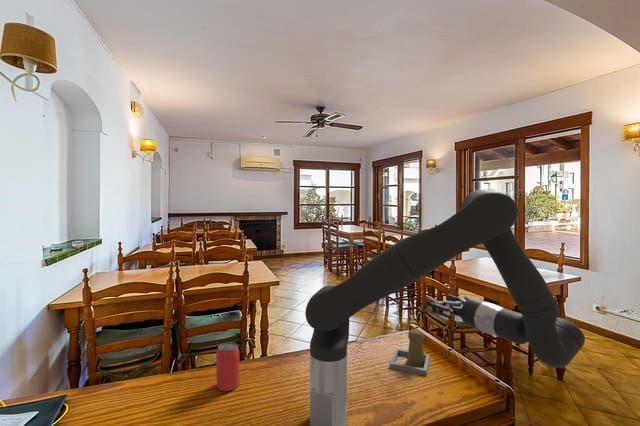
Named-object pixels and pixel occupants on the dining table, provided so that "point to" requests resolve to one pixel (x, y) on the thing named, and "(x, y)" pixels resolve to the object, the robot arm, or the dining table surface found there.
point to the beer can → (227, 366)
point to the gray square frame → (406, 367)
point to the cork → (416, 348)
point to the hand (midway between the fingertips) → (436, 299)
